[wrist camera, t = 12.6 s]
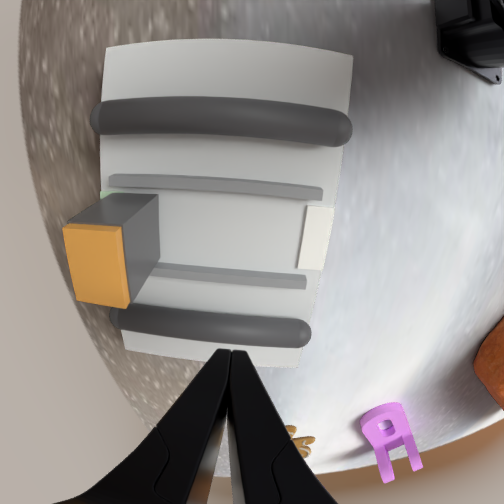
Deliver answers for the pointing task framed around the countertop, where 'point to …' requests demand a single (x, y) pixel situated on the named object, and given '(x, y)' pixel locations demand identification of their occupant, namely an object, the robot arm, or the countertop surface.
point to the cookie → (300, 441)
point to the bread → (492, 363)
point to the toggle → (113, 248)
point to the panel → (226, 188)
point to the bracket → (389, 437)
